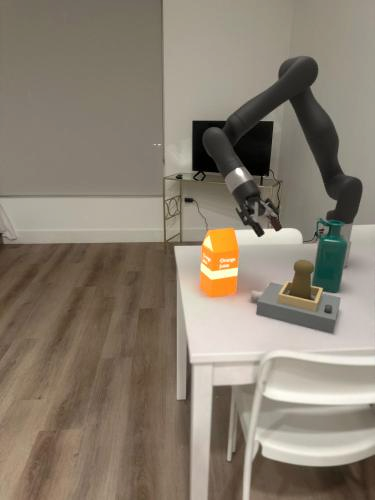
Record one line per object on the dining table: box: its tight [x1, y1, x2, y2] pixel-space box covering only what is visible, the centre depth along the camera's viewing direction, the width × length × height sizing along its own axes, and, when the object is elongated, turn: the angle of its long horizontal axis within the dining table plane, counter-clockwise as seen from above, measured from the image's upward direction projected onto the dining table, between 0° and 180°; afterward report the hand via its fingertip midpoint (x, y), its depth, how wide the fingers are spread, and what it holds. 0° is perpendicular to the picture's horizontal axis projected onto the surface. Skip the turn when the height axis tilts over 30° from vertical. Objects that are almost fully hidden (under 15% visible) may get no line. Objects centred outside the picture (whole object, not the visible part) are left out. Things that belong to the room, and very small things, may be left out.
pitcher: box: [311, 217, 348, 293], centre depth 114 cm, size 10×8×22 cm
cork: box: [289, 259, 314, 300], centre depth 98 cm, size 6×6×11 cm
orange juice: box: [199, 227, 240, 299], centre depth 109 cm, size 8×9×20 cm
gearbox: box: [250, 280, 342, 335], centre depth 101 cm, size 24×14×6 cm, turn 63°
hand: (271, 232), depth 102 cm, fingers open, 8 cm apart
